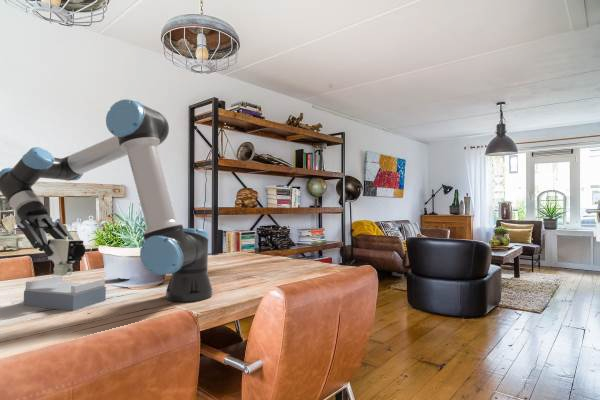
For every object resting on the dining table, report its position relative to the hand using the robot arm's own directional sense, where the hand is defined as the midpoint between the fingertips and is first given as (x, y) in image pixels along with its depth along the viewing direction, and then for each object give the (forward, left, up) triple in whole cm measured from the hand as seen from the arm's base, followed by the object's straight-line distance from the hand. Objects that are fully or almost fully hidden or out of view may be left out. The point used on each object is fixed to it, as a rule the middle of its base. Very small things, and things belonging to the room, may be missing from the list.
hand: (67, 261), depth 113 cm
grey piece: (+2, 0, -13) cm, 13 cm away
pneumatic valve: (+1, +1, -4) cm, 5 cm away
